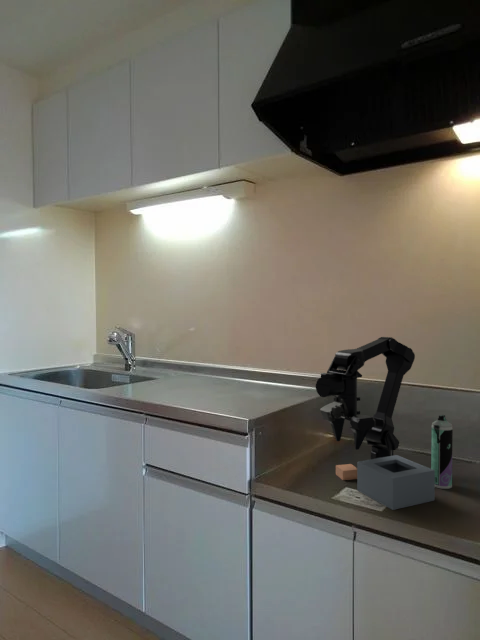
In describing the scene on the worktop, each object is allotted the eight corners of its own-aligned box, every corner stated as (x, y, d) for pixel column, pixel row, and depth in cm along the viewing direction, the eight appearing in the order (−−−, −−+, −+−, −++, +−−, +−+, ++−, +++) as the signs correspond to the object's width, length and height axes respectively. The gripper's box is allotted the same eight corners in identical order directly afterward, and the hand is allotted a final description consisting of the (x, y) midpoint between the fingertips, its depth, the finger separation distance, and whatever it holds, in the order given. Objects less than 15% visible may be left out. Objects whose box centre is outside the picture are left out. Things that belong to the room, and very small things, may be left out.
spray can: (450, 490, 131) (451, 418, 131) (429, 486, 134) (430, 416, 134) (453, 484, 136) (454, 414, 135) (433, 480, 139) (433, 412, 138)
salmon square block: (351, 473, 146) (350, 463, 145) (358, 479, 141) (358, 469, 141) (335, 475, 144) (335, 465, 144) (342, 481, 140) (342, 470, 139)
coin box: (396, 482, 137) (396, 454, 137) (434, 500, 125) (434, 470, 124) (357, 490, 132) (357, 461, 132) (392, 510, 119) (392, 478, 119)
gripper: (307, 390, 147) (307, 440, 148) (343, 401, 130) (344, 458, 130) (337, 387, 152) (337, 436, 152) (376, 397, 134) (376, 452, 135)
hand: (347, 445), depth 142 cm, fingers open, 9 cm apart
